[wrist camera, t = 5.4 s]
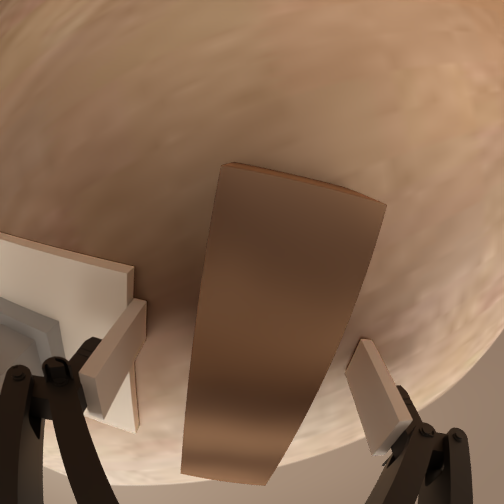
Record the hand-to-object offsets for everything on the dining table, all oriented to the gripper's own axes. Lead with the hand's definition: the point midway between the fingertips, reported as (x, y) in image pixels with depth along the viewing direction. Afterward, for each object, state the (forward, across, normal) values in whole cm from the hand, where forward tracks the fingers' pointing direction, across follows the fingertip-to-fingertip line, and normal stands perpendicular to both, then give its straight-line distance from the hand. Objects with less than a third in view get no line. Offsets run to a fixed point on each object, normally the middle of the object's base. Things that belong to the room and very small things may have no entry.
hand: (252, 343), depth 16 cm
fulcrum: (0, -15, -4) cm, 16 cm away
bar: (+1, 0, 0) cm, 1 cm away
